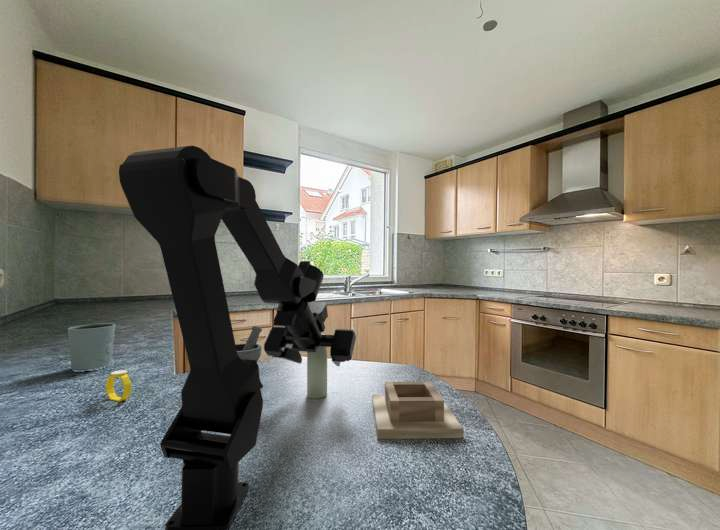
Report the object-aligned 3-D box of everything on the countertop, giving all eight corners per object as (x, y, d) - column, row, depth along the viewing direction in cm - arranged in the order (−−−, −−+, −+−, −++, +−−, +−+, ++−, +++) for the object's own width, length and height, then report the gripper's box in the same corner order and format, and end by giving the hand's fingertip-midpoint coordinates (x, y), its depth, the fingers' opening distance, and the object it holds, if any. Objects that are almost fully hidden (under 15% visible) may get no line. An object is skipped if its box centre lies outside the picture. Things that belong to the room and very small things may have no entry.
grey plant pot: (119, 366, 86) (121, 324, 86) (72, 376, 77) (74, 330, 78) (106, 361, 91) (107, 322, 92) (60, 369, 83) (62, 326, 83)
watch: (134, 400, 63) (136, 372, 63) (119, 405, 61) (122, 376, 61) (115, 394, 65) (117, 367, 65) (100, 399, 63) (103, 371, 63)
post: (326, 398, 63) (326, 337, 64) (305, 399, 63) (305, 337, 64) (328, 390, 68) (328, 333, 68) (308, 391, 68) (308, 333, 68)
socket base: (463, 438, 48) (463, 406, 48) (377, 438, 48) (377, 407, 48) (438, 401, 62) (438, 377, 62) (372, 402, 62) (372, 377, 62)
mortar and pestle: (239, 381, 74) (240, 333, 74) (214, 375, 78) (215, 329, 79) (271, 368, 84) (272, 326, 84) (248, 364, 88) (249, 323, 89)
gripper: (353, 290, 61) (365, 334, 71) (271, 289, 65) (293, 331, 75) (342, 337, 53) (357, 379, 63) (249, 332, 57) (277, 372, 67)
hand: (319, 363), depth 67 cm, fingers open, 9 cm apart
